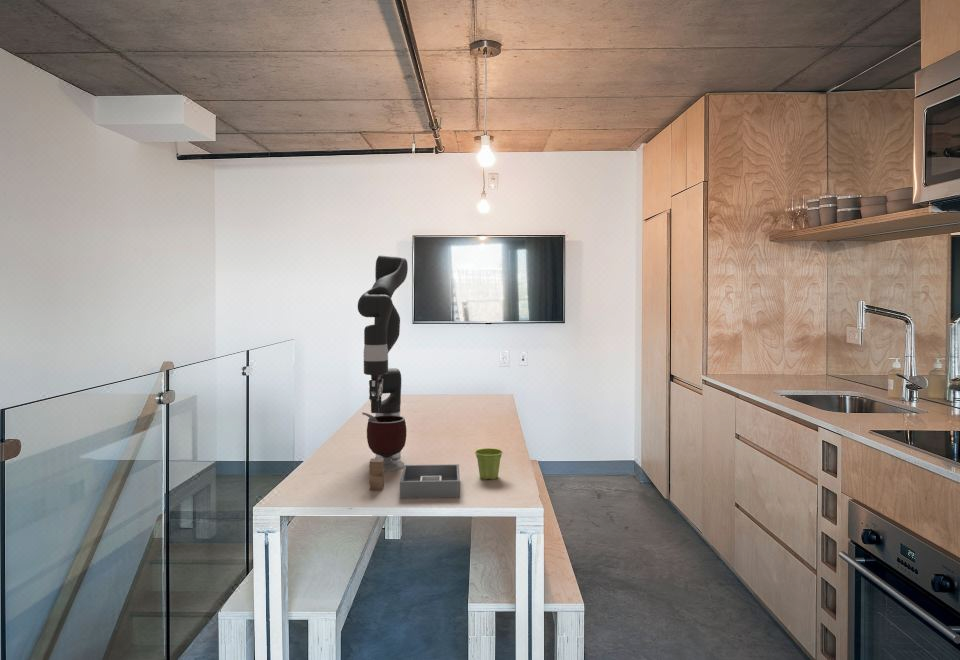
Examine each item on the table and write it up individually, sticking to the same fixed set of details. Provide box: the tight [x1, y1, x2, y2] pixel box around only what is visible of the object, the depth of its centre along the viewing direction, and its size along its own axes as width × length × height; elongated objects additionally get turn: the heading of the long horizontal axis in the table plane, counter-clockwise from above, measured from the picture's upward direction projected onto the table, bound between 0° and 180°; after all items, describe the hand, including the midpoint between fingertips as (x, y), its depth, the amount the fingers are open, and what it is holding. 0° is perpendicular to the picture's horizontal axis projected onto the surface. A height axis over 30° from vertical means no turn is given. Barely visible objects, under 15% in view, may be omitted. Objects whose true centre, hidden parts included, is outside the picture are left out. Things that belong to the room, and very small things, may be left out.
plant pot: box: [474, 447, 504, 480], centre depth 207 cm, size 9×9×9 cm
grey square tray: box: [399, 463, 461, 499], centre depth 195 cm, size 18×18×5 cm
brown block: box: [369, 457, 385, 491], centre depth 195 cm, size 4×4×9 cm
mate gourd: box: [362, 412, 407, 472], centre depth 218 cm, size 16×14×20 cm
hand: (376, 410), depth 194 cm, fingers open, 8 cm apart
